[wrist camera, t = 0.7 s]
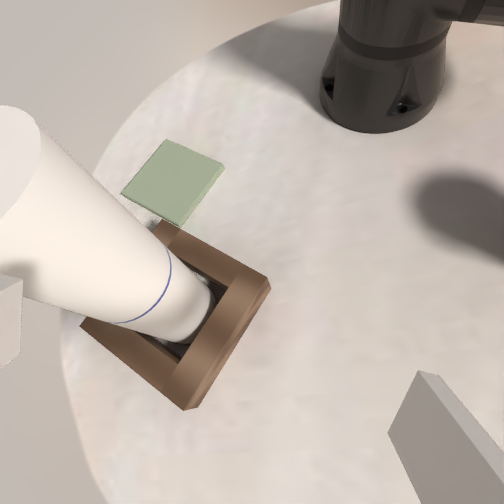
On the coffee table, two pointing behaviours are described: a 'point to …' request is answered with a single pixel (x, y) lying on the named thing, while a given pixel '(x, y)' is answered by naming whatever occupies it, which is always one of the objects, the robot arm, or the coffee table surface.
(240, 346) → the coffee table surface
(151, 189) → the green mat
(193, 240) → the frame
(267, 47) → the coffee table surface
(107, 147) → the coffee table surface
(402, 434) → the robot arm
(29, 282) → the cylindrical container
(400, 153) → the coffee table surface
